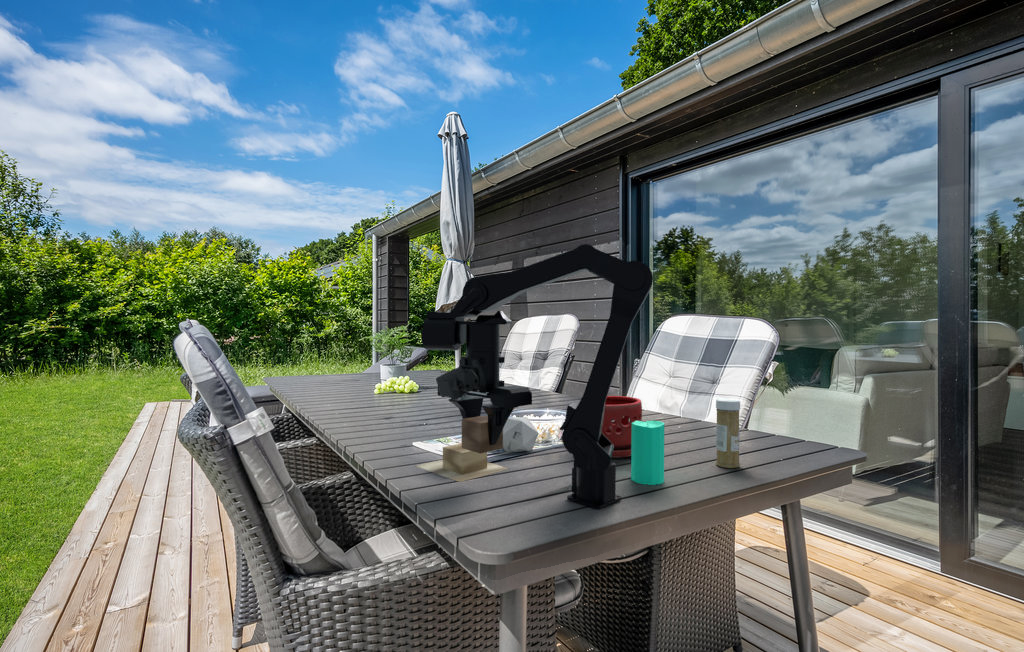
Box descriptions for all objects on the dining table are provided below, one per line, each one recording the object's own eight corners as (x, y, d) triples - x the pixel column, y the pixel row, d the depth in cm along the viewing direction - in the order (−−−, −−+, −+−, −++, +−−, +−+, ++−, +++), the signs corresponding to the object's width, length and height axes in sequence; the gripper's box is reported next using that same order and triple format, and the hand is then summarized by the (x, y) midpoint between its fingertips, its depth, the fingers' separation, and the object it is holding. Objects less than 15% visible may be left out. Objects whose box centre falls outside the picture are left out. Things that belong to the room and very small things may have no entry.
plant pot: (607, 443, 126) (608, 393, 126) (654, 454, 116) (654, 399, 116) (568, 452, 118) (568, 398, 118) (614, 465, 108) (614, 405, 107)
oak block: (487, 468, 101) (487, 447, 101) (462, 474, 97) (462, 452, 97) (467, 462, 105) (467, 442, 105) (442, 468, 101) (442, 447, 101)
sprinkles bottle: (742, 469, 105) (743, 401, 105) (719, 468, 105) (719, 400, 105) (735, 463, 109) (736, 397, 109) (712, 462, 110) (713, 397, 110)
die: (489, 455, 117) (495, 426, 111) (505, 430, 124) (512, 401, 118) (523, 471, 115) (531, 442, 109) (537, 444, 122) (546, 416, 116)
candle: (668, 478, 99) (668, 413, 99) (659, 486, 94) (660, 419, 93) (636, 473, 102) (637, 410, 102) (626, 481, 97) (626, 415, 96)
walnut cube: (502, 448, 91) (502, 419, 91) (480, 453, 88) (480, 423, 88) (483, 443, 95) (483, 415, 95) (461, 448, 91) (461, 419, 91)
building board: (509, 473, 101) (509, 468, 101) (459, 487, 93) (459, 481, 93) (463, 459, 111) (463, 454, 111) (414, 470, 103) (414, 465, 103)
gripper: (412, 350, 92) (412, 440, 92) (482, 356, 79) (482, 461, 79) (462, 348, 100) (462, 430, 100) (534, 353, 86) (534, 448, 87)
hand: (482, 442), depth 91 cm, fingers closed on walnut cube, 5 cm apart
